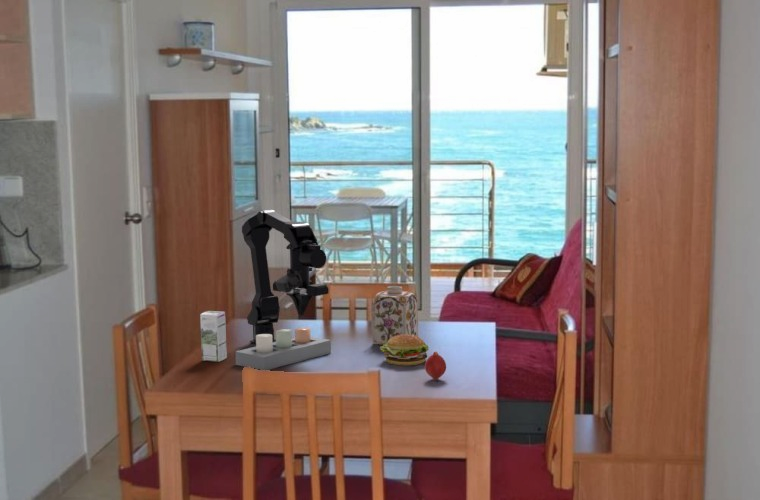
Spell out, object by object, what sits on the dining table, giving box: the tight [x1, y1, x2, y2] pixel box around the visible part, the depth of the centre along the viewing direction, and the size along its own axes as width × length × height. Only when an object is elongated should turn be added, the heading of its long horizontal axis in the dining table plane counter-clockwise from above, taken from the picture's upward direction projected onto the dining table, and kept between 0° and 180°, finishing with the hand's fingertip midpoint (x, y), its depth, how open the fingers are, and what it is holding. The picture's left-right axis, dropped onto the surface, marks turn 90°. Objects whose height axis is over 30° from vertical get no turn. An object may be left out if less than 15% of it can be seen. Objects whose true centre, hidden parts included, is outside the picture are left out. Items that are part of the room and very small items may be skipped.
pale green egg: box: [275, 328, 293, 349], centre depth 307 cm, size 5×5×6 cm
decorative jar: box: [371, 285, 419, 346], centre depth 327 cm, size 12×12×18 cm
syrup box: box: [199, 310, 228, 363], centre depth 307 cm, size 6×6×14 cm
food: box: [379, 334, 430, 367], centre depth 301 cm, size 14×14×8 cm
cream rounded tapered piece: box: [255, 334, 273, 354], centre depth 301 cm, size 5×5×6 cm
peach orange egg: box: [294, 327, 312, 344], centre depth 313 cm, size 5×5×6 cm
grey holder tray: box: [235, 336, 332, 371], centre depth 307 cm, size 12×28×4 cm, turn 140°
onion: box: [424, 351, 447, 381], centre depth 280 cm, size 6×6×8 cm
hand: (301, 315), depth 311 cm, fingers closed
